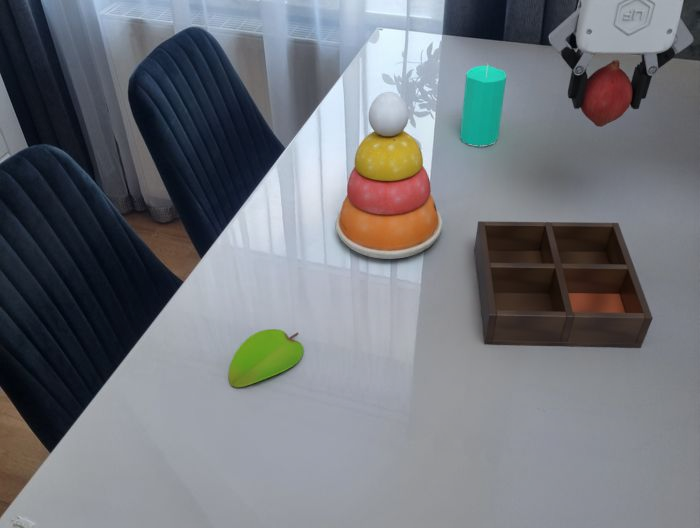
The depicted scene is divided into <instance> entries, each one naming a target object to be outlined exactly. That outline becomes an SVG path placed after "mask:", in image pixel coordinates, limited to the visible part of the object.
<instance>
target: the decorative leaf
mask: <svg viewBox="0 0 700 528" xmlns="http://www.w3.org/2000/svg"><path fill="white" fill-rule="evenodd" d="M297 335H299V332H295V333H294V334H292V335H291V336H290V337H289V336H288V334H287V333H286V332H285V331H284V330H282V329H278V328H277V329H276V328H271V329H270V328H269V329H264V330H259V331H257V332H255V333H253V334H252V335H250V336H249V337H248V338H246V339H245V340H244V342H242V344H241V345H240V346H239V347H238V348H237V350H236V352H235V353H234V355H233V357H232V359H231V362H230V365H229V369H228V382H229V384H230V386H232V387H233V386H234V387H233V388H243V387H246V386H249V385H253V384H255V383H258V382H260V381H264V380H266V379H268V378H271V377H273V376H277V375H278V374H280V373H283V372H284V371H286V370H289V369H290V368H292V367H294V366H295V365H296V364H297V363H298V362H300V361H301V359H302V357H303V355H304V346H303V344H302V343H301V342H300V341H298V340H295V339H293V338H294V337H296V336H297Z"/></svg>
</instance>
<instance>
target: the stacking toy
mask: <svg viewBox="0 0 700 528" xmlns="http://www.w3.org/2000/svg"><path fill="white" fill-rule="evenodd" d="M368 122H369V126H370V128H371V129H372V132H370V133H369V134H368V135H367V136H365V138H363V140H361V142H360V143H359V145H358V148H357V149H356V152H355V156H354V167H353V169H352V170H351V173H350V175H349V178H348V181H347V187H346V196H345V198H344V200H343V203H342V205H341V209H340V211H339V212H338V214H337V216H336V219H335V229H336V232H337V234H338V236H339V238H340V239H341V241H342V243H344V244H345V245H346V246H347V247H348V248H350V249H351V250H353V251H354V252H356V253H358V254H360V255H363V256H365V257H369V258H375V259H383V260H394V259H402V258H407V257H412V256H414V255H417V254H420V253H423V251H426V250H427V249H429V248H430V247H431V246H432V245H433V244H434V243H435V242H436V241H437V240H438V238H439V237H440V235H441V233H442V230H443V217H442V216H441V213H440V211H439V210H438V209H437V205H436V202H435V199H434V198H433V196H432V194H431V192H432V191H431V188H432V187H431V182H430V177H429V174H428V172H427V170H426V168H425V166H424V158H423V153H422V150H421V148H420V146H419V144H418V142H417V141H416V140H415V138H414V137H413V136H412V135H410V134H409V133H408V132H406V131H405V128H406V127H407V125H408V122H409V109H408V106H407V104H406V102H405V100H404V99H403V97H401V96H400V95H399V94H397V93H396V92H394V91H384V92H382V93H380V94H378V95H377V96H376V97H375V98H374V100H373V101H372V103H371V104H370V107H369V110H368Z"/></svg>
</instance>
